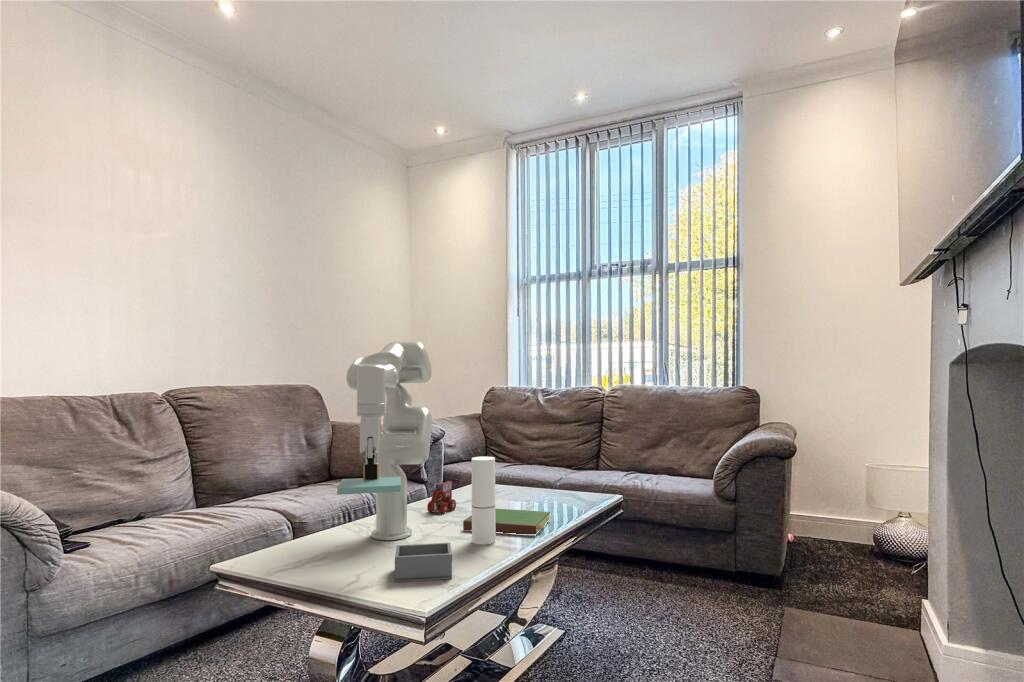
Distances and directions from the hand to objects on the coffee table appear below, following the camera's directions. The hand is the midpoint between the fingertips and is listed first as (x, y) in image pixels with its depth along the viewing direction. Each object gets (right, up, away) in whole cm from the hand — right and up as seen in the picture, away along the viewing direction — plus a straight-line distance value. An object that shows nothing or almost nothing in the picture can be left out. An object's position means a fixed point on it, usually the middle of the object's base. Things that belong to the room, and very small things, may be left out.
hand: (371, 478), depth 158 cm
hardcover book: (+37, -25, +36) cm, 58 cm away
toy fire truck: (+12, -26, +57) cm, 64 cm away
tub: (+15, -22, -9) cm, 29 cm away
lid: (+1, -1, -5) cm, 5 cm away
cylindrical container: (+30, -24, +19) cm, 42 cm away
